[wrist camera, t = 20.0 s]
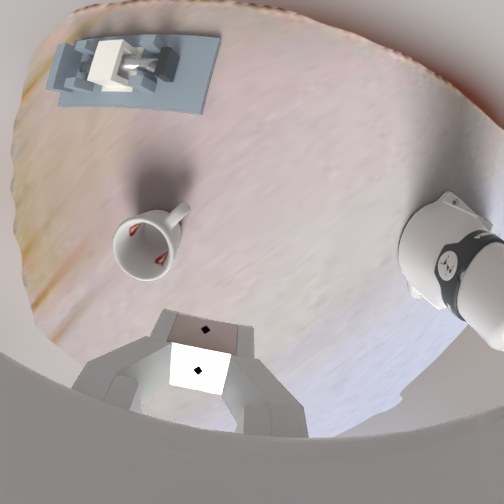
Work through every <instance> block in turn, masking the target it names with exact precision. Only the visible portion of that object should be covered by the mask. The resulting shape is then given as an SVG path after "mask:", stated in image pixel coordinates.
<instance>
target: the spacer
mask: <svg viewBox="0 0 504 504" xmlns="http://www.w3.org/2000/svg"><path fill="white" fill-rule="evenodd" d="M137 54H138V50H136V49H135V48H134V47H132V46H131V45H130V44H129V43H127V42H126V41H125V40H123V39H120V40H106V41H99V43H98V46H97V49H96V52H95V55H94V58H93V61H92V64H91V68H90V71H89V75H88V78H87V81H90V82H93V83H96V84H99V85H102V86H105V87H128V85H127V84H128V80H126V79H124V78H122V77H120V76H118V75H117V72H118V69H119V65H120V62H121V59H122V57H137Z"/></svg>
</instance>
